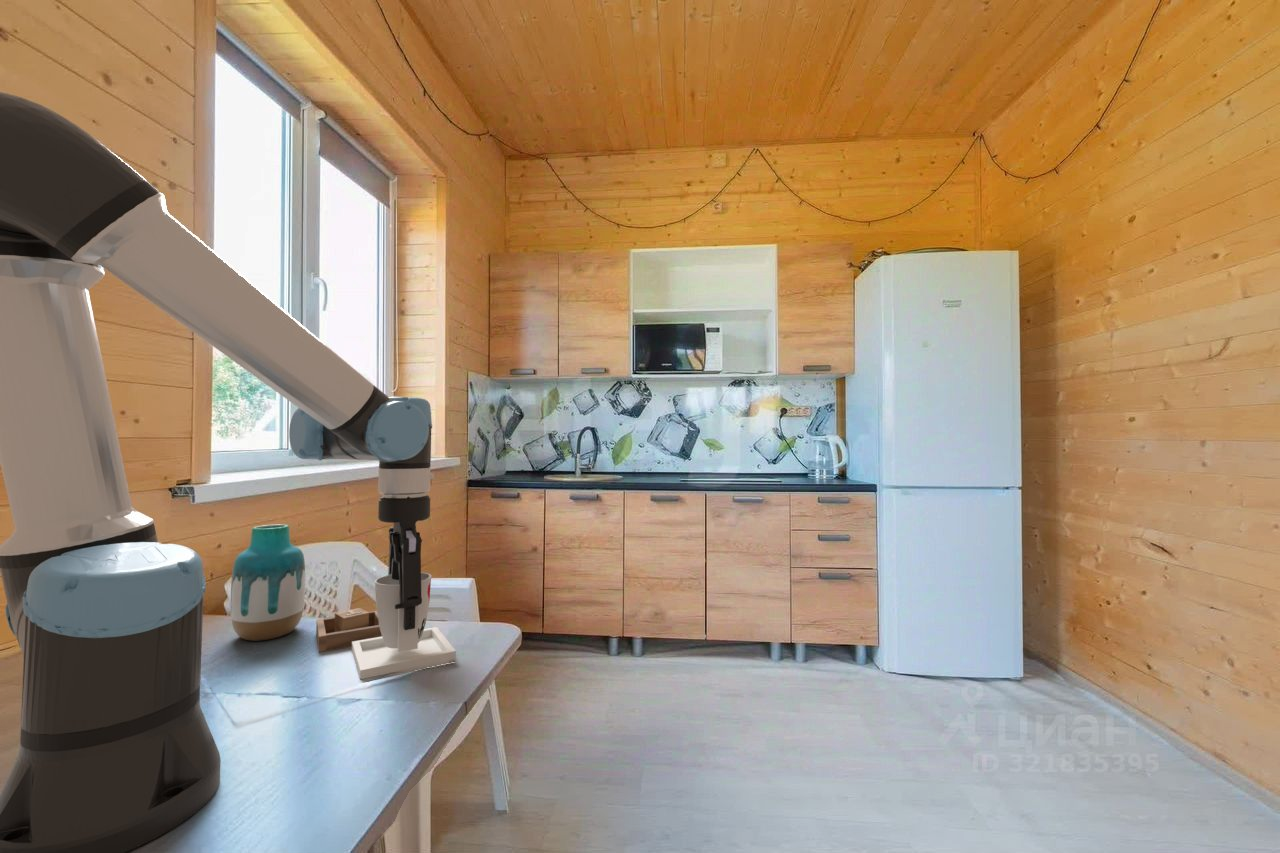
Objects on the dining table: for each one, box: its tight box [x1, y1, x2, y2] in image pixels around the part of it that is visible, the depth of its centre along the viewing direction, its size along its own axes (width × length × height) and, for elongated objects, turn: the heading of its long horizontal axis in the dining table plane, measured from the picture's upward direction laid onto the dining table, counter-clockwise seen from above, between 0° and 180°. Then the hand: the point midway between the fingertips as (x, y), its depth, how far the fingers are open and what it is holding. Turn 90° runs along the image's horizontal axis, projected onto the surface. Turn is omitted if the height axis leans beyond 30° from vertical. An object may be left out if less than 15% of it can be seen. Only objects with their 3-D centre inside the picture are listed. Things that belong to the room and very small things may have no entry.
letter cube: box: [334, 607, 369, 632], centre depth 91 cm, size 4×4×4 cm
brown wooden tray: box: [315, 609, 382, 653], centre depth 91 cm, size 10×10×3 cm
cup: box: [374, 571, 432, 648], centre depth 84 cm, size 8×8×10 cm
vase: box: [230, 523, 306, 642], centre depth 93 cm, size 11×11×19 cm
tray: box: [351, 626, 457, 684], centre depth 84 cm, size 13×13×2 cm
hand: (402, 640), depth 84 cm, fingers closed on cup, 8 cm apart
